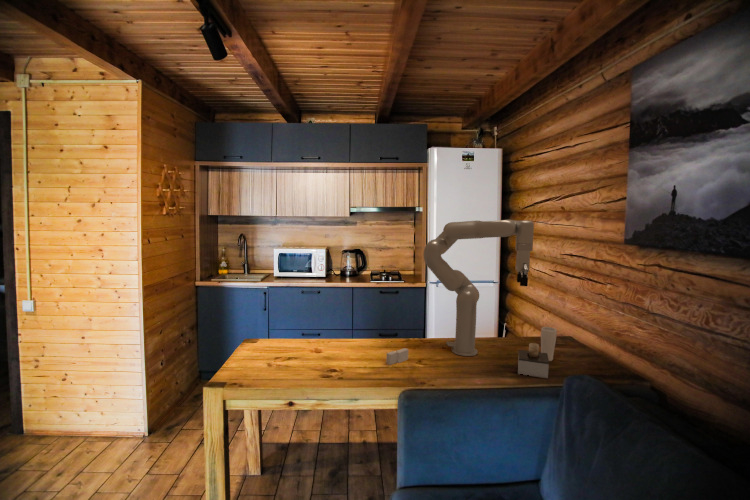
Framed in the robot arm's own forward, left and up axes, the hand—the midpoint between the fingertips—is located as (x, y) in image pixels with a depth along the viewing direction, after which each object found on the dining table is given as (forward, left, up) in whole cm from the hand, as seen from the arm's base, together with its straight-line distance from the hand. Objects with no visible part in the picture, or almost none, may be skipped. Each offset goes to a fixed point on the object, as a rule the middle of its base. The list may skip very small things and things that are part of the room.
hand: (522, 284), depth 194 cm
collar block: (+6, -12, -36) cm, 39 cm away
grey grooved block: (-53, -24, -37) cm, 69 cm away
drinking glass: (+13, +6, -37) cm, 39 cm away
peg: (+6, -12, -30) cm, 33 cm away
